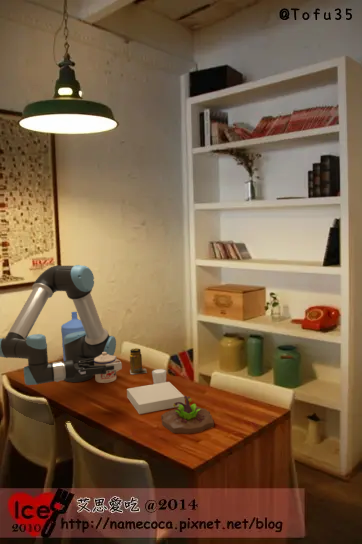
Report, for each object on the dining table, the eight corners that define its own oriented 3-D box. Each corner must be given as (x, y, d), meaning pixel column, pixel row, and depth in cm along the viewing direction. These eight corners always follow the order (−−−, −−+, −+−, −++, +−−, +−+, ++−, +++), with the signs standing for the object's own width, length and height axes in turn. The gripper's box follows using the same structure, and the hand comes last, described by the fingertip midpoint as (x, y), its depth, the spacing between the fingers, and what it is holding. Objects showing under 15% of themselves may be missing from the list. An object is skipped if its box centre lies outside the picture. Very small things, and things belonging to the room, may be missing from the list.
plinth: (127, 397, 214) (126, 388, 213) (169, 389, 221) (168, 381, 220) (139, 414, 195) (138, 404, 195) (184, 405, 202) (184, 396, 202)
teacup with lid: (101, 385, 193) (99, 357, 191) (91, 379, 200) (89, 352, 199) (127, 378, 200) (125, 351, 198) (116, 372, 207) (115, 346, 206)
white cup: (169, 383, 230) (168, 369, 229) (164, 388, 223) (163, 373, 222) (155, 382, 232) (155, 368, 231) (150, 387, 225) (149, 372, 225)
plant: (171, 438, 174) (170, 409, 172) (156, 417, 192) (155, 391, 191) (222, 428, 180) (221, 400, 179) (202, 409, 198) (201, 383, 197)
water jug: (57, 361, 272) (54, 313, 269) (80, 354, 284) (76, 308, 281) (74, 366, 262) (71, 316, 259) (97, 358, 274) (93, 311, 271)
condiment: (129, 370, 251) (128, 348, 250) (145, 368, 253) (144, 346, 251) (130, 374, 244) (129, 352, 243) (147, 373, 246) (145, 350, 244)
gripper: (61, 371, 203) (113, 363, 211) (68, 388, 183) (125, 378, 191) (60, 354, 202) (112, 347, 210) (66, 369, 182) (124, 360, 190)
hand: (118, 362), depth 200 cm, fingers closed on teacup with lid, 9 cm apart
